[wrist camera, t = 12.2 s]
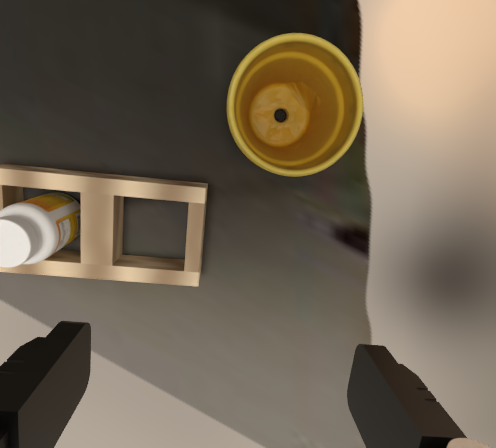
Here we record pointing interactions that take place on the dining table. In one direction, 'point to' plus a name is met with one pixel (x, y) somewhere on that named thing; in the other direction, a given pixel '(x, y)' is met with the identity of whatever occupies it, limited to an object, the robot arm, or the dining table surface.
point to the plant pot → (295, 104)
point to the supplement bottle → (37, 228)
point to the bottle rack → (110, 224)
